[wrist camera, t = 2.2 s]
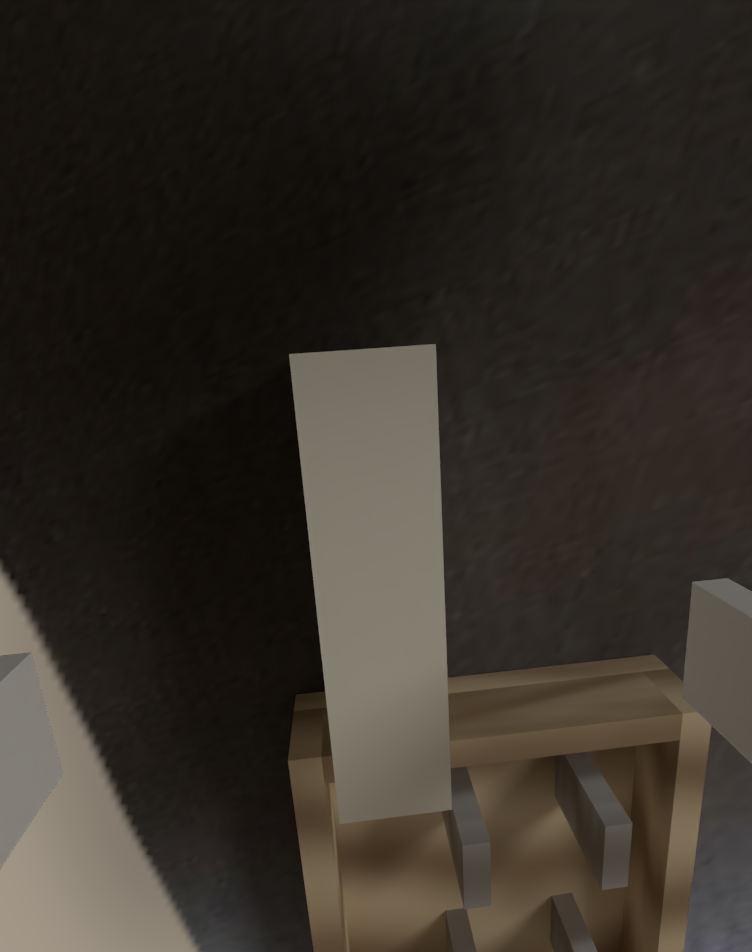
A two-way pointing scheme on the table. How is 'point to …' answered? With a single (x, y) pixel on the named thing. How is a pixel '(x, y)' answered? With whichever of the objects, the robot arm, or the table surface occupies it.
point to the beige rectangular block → (378, 572)
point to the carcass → (519, 821)
